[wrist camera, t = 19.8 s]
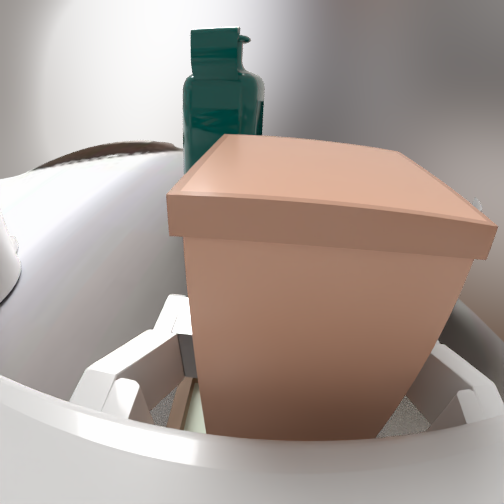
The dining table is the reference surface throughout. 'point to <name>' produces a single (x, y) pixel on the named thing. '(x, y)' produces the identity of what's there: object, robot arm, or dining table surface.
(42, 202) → the dining table surface
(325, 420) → the canister
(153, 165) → the dining table surface
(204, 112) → the green bottle
